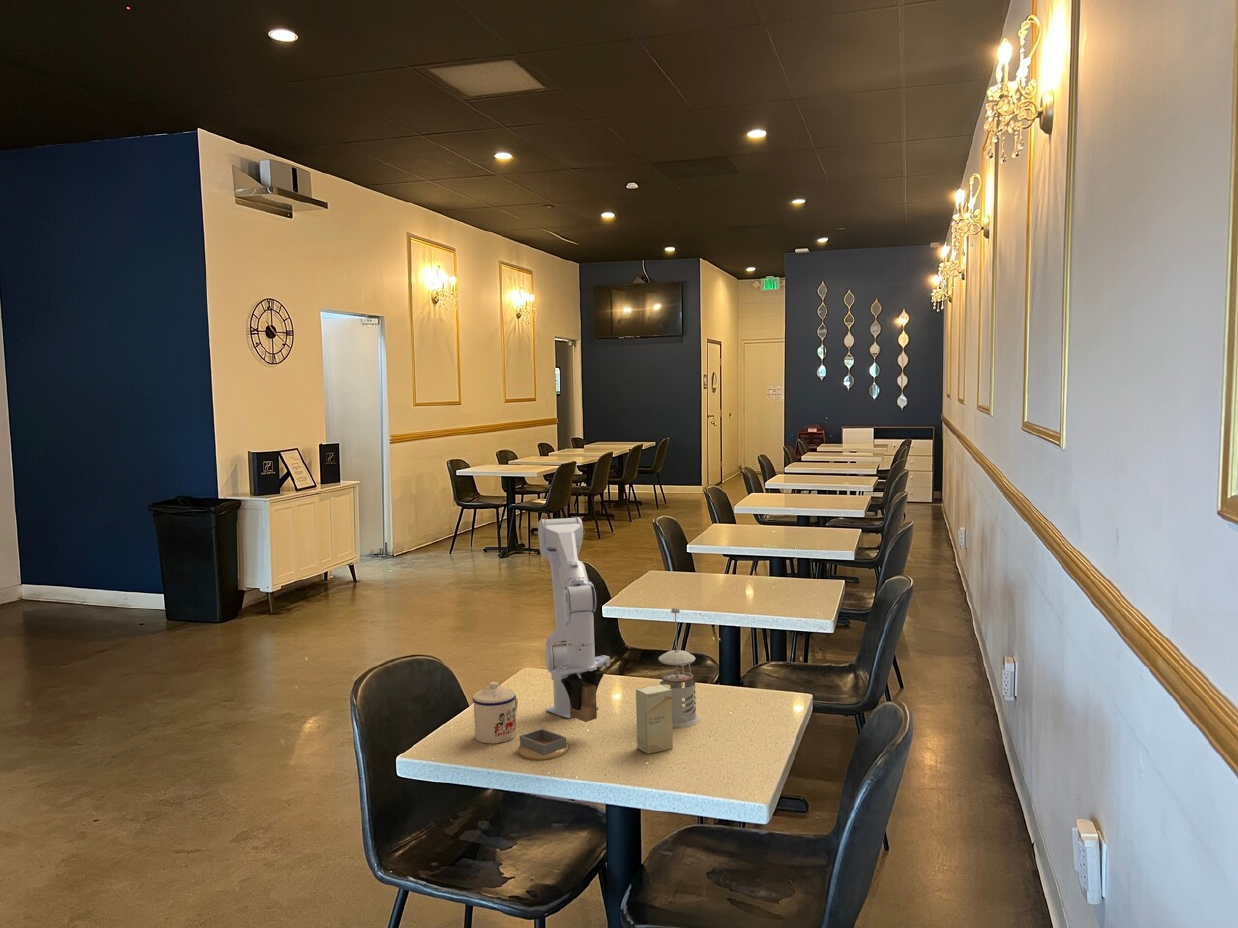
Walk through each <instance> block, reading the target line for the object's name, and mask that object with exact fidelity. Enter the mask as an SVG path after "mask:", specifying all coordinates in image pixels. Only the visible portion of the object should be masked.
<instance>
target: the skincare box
mask: <svg viewBox="0 0 1238 928" xmlns="http://www.w3.org/2000/svg"><path fill="white" fill-rule="evenodd" d="M635 699H636V700H635V706H636V707H635V709H636V746H637V748H638V749H639V750H641V751H642V752H644V753H646V754H652V753H658V752H663V751H668V750H672V749H673V748H674V742H673V741H674V737H673V727H672V690H671V689H670V687H667V686H665V685H660V684H658V685H651V686H646V687H641V688H635Z"/></svg>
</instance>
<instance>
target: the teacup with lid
mask: <svg viewBox="0 0 1238 928" xmlns="http://www.w3.org/2000/svg"><path fill="white" fill-rule="evenodd" d="M471 700H472V702H473V712H474V713H473V715H474V737H475V740H476V741H478V742H480V743H482V744H502V743H506V742H509V741H512V740H513V739H514V738H515V737H516V735H517V721H516V720H517V718H516V716H517V715H516V712H517V710H518V698H517V695H516V693H515V691H514V690H513V689H511V688H507V687H504V686H502V685H499V682H498V681H491V682H489V683H488V686H487V687H485V688H483V689H481V690H479V691H477V692H475V693H474V694H473V696H472V699H471Z"/></svg>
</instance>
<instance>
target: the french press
mask: <svg viewBox="0 0 1238 928" xmlns="http://www.w3.org/2000/svg"><path fill="white" fill-rule="evenodd" d="M670 612H671V613H672V614H674V622H675V625H674V626H675V650H673V649H672V650H669V651H667V652H665V653H663V654H661V655H660V656H658V658H657V659H658V661H659V662H660V663H661V664H664V665H668V666H676V670H675V671H669V672H665V673H663V674H661V676H660V678H661V681H660V682H659V685H664V686H665V685H667V686H670V687H669V688H670V689H671V690H672V728H689V727H692V726H696V725H698V724H699V723H700V722H701V720H702V718H701V717H700V716H699V715H698V714H697V704H696V703H697V702H696V699H697V698H696V697H697V696H696V694H697V693H696V682H695V681H694V680H693V679H694V677H695V676H694V674H692V673H691V671H692V670H691V664H692V663H694V662H695V660H696V657H695V655H693V654H691V653H690V652H688V651H685V650H678V642H677V641H678V638H677V635H678V634H677V632H678V631H677V614H680V613H681V611H680V608H679V607H677V606H674V607H673V606H672V608H671V610H670ZM687 665H688V667H689V672H687V671H685V669H684V667H686V666H687ZM679 666H680V667H682V671H678V668H679ZM683 685H684V688H683ZM683 699H684V700H683ZM683 705H685V706H683Z"/></svg>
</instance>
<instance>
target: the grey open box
mask: <svg viewBox="0 0 1238 928" xmlns="http://www.w3.org/2000/svg"><path fill="white" fill-rule="evenodd" d="M568 751H569V744H568V742H567V736H563V735H560V734H558V733H555V732H553V731H550V730H548V729H544V728H539V729H537V730H536V729H535V730H534V731H531V732H527V733H525V734H521V735H519V745H518V755H519V756H521V757H522V758H524V759H527V760H533V761H548V760H551V759H553V760H554V759H556V758H560V757H562V756H564V755H565V754H566V753H567V752H568Z"/></svg>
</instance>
